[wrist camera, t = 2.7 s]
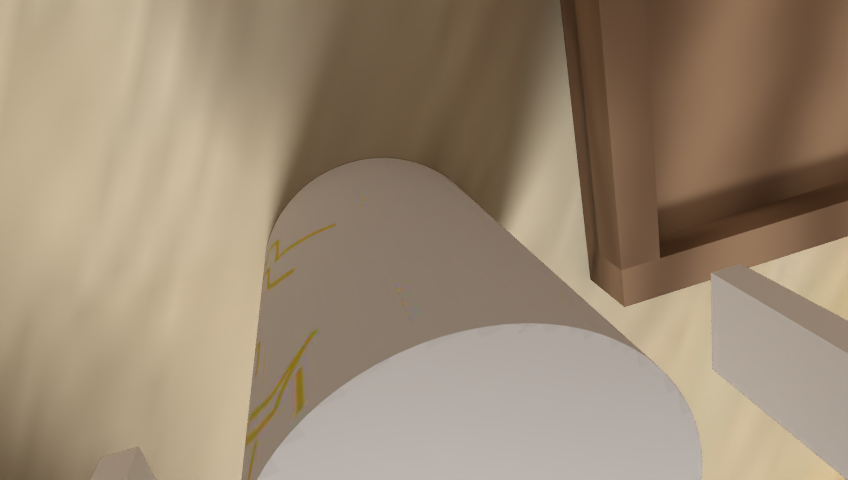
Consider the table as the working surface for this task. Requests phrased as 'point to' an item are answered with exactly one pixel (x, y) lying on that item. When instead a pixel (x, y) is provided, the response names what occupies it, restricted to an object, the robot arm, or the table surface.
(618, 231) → the tray
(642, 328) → the table surface
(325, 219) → the pale grey cylinder
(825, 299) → the table surface
